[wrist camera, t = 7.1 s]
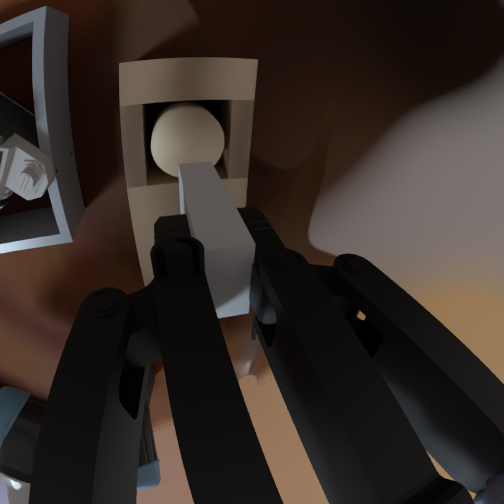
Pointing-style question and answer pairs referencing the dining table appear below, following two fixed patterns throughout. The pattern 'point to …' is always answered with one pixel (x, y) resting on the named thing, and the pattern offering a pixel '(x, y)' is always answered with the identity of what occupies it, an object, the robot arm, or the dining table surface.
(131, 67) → the beige slotted holder
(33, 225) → the caddy
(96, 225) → the dining table surface
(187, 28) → the dining table surface
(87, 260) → the dining table surface
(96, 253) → the dining table surface
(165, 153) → the cream rounded upright piece
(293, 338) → the robot arm
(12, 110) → the camera
